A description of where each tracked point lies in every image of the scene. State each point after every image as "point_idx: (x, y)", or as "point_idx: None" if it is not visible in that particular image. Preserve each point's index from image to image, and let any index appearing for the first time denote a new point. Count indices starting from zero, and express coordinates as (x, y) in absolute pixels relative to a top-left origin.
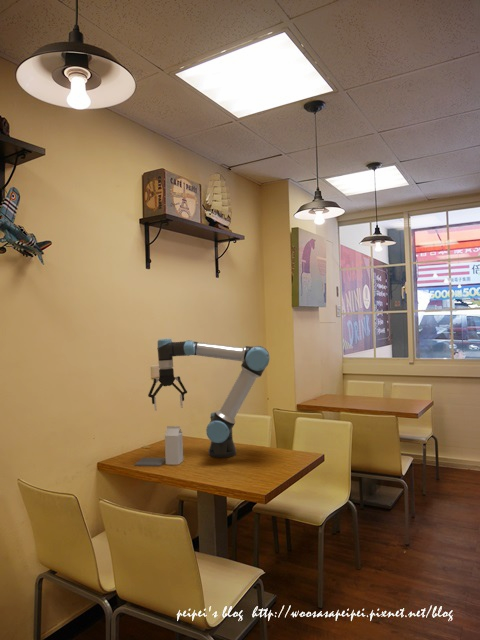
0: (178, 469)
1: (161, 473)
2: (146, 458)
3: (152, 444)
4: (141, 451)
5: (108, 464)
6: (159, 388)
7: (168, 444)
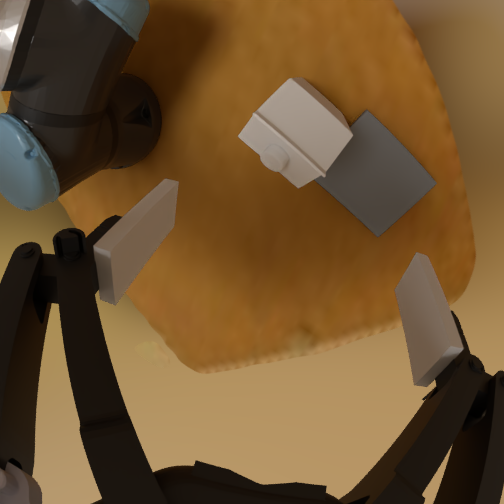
0: (323, 29)
1: (395, 29)
2: (373, 220)
3: (276, 350)
4: (336, 313)
5: (475, 252)
6: (419, 460)
7: (335, 113)
